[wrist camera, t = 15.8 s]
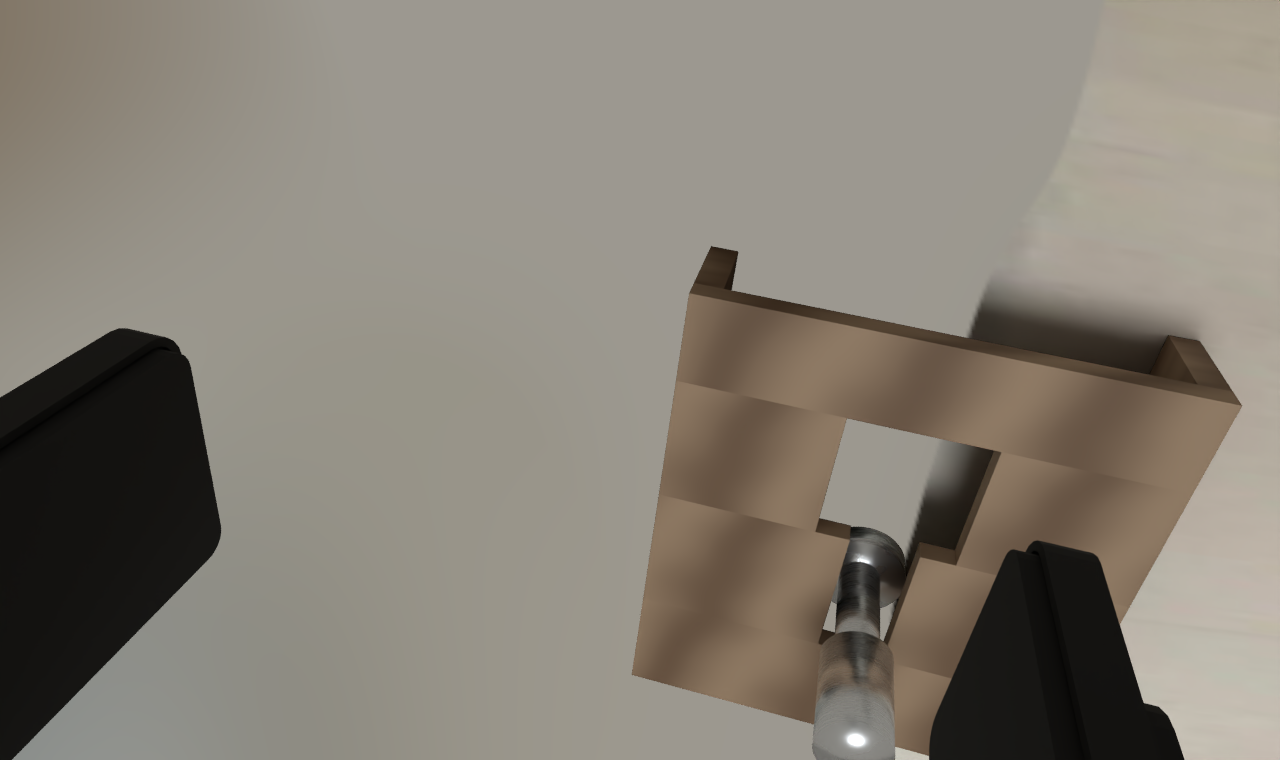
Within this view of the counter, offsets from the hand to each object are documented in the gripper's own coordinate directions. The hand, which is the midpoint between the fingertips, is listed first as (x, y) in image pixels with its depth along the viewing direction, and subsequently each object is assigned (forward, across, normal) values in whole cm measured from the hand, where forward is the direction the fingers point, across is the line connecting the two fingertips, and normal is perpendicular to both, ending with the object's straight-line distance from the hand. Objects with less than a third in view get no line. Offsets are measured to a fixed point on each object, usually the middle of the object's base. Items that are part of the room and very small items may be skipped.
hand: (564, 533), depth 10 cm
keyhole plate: (+28, -8, +20) cm, 36 cm away
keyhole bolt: (+28, -8, +23) cm, 37 cm away
